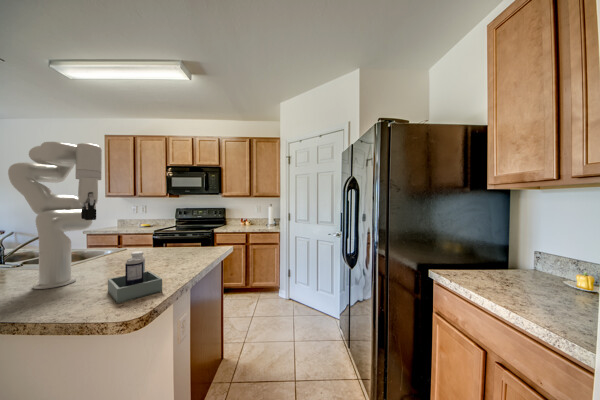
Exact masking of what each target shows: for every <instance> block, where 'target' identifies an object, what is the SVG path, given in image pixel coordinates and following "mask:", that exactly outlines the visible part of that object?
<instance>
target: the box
mask: <svg viewBox="0 0 600 400" xmlns="http://www.w3.org/2000/svg"><path fill="white" fill-rule="evenodd" d="M162 292H163V278H162V277H160V276H158V275H156V274H155V273H153V272H152V271H150V270H145V272H143V283H139V284H135V285H130V286H126V287H125V275H121V276H116V277H111V278H108V279H107V293H108V294H109V295H110V296H111V298H112V299H113V300H114V302H115V303H116V304H120V303H124V302H125V303H126V302H129V301H132V300H136V299H140V298H143V297H146V296H147V297H148V296H150V295H151V296H152V295H155V294H160V293H162Z"/></svg>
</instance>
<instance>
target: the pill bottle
mask: <svg viewBox="0 0 600 400" xmlns="http://www.w3.org/2000/svg"><path fill="white" fill-rule="evenodd" d="M130 257H131V258H129V259H132V258H142V260H143V272H146V269H145V268H146V267H145V266H146V257H145V256H144V251H141V250H140V251H133V252H131V255H130Z"/></svg>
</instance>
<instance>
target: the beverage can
mask: <svg viewBox="0 0 600 400" xmlns="http://www.w3.org/2000/svg"><path fill="white" fill-rule="evenodd" d="M131 258H132V257H131ZM124 266H125V270H124V271H125V273H124V274H125V275H124V276H125V287H126V286H130V285H135V284H139V283H143V260H142V258H132V259H130V258H128V259H126V262H125V265H124Z"/></svg>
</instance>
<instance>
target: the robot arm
mask: <svg viewBox="0 0 600 400" xmlns="http://www.w3.org/2000/svg"><path fill="white" fill-rule="evenodd" d="M102 154H103V153H102V148H101V146H99V145H98V144H93V143H85V142H84V143H83V142H81V143H78V144H73V143H72V144H71V143H65V142H59V141H43V142H42V143H40V145H37V146H33V147H32V148H30V149H29V151H28V157H29V159H30V160H31V161H33V162H17V163H13V164H11V165H10V166H9V168H8V171H7V175H8V180H9V181H10V183H11V185H12V186H13V188H14V189H15V190H16V191H17V192H18V193H20V194H21V195H22V196H23V197H24V199H25V201H26V202H27V203H28V205H29V207H30V208H31V210H32V211H33V212H34V214H36V217H35V226H36V230H37V235H38V282H36V283H34V284H33V285H32V288H33V289H35V290H47V289H54V288H59V287H63V286H66V285H69V284H70V285H71V284H72V283H75V282H76V281H77V277H76V276H72V240H71V238H70V237H69V236H67V234H65V232H74V231H83V230H86V229H89V228H90V227H91V226H92V224H93V221H96V220H97V208H96V207H97V206H96V205H97V204H98V201H99V200H98V198H99V183H98V182H99V181H102V167H103V166H102V160H103V159H102V158H103V157H102V156H103V155H102ZM74 166H75V180H78V189H77V192H78V194H77V195H76V196H75V195H71V194H70V195H69V194H56V193H55V194H54V193H53V192H52V190H51V189H50V187H48V186H46V185H45V184H43V183H52V184H53V183H55V184H58V183H62V182H64V181H65V180H66V178H67V177H68V175H69V174H70V173H71V171H72V169H73V168H74Z"/></svg>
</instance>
